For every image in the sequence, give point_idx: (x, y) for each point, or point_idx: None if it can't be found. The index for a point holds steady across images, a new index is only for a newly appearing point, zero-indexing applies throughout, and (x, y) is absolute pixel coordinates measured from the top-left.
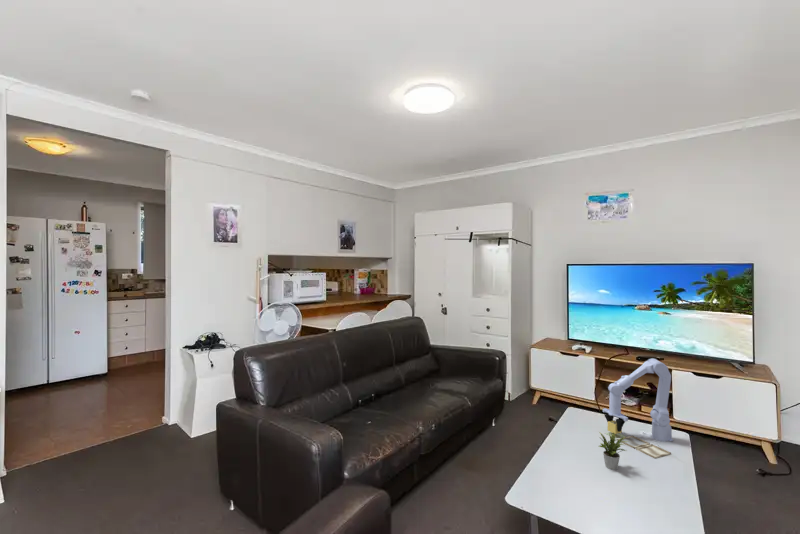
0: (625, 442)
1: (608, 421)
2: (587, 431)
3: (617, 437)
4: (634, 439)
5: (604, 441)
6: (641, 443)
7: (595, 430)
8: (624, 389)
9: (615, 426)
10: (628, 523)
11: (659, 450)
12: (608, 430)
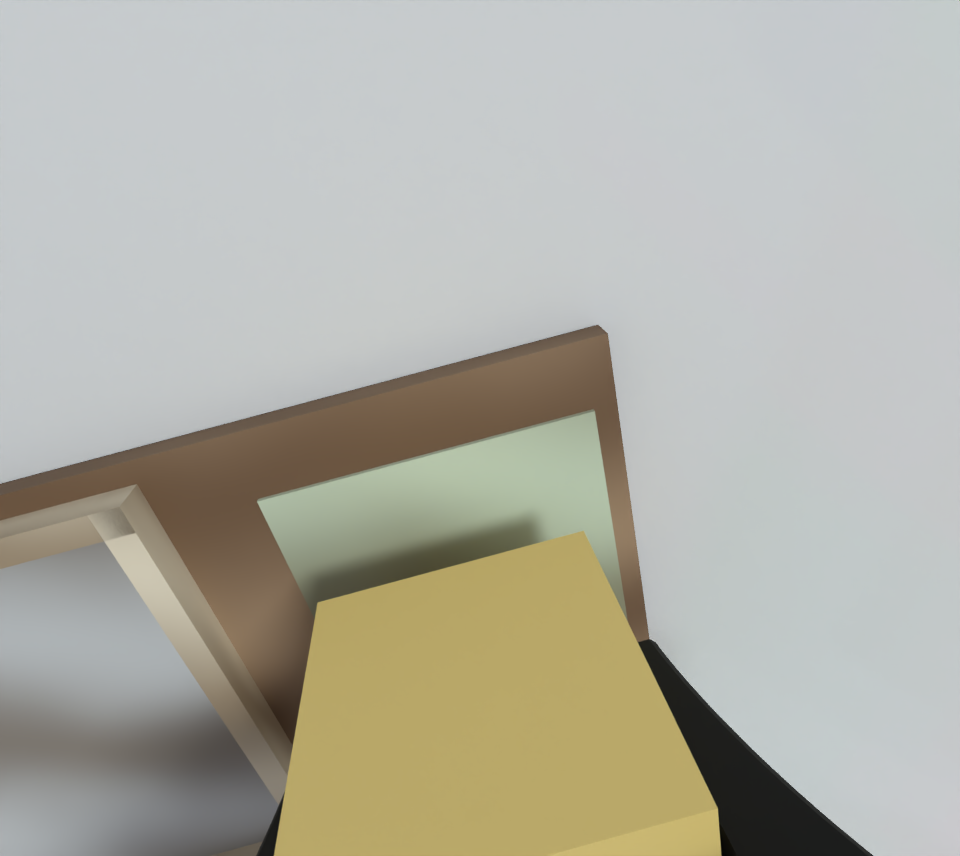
0: (21, 609)
1: (716, 840)
2: (909, 8)
3: (318, 581)
4: (213, 815)
5: None
6: (21, 845)
7: (849, 320)
8: None
9: (276, 854)
10: None
11: None
12: (553, 544)
